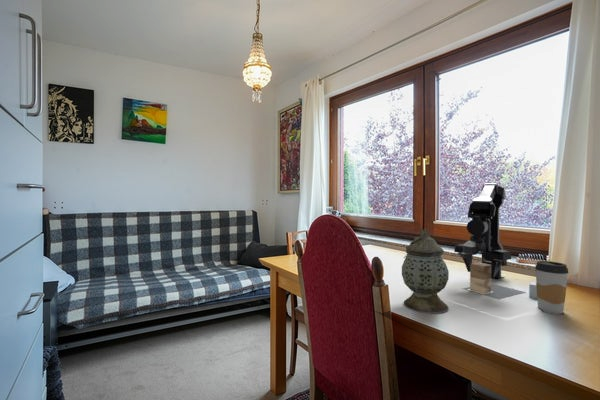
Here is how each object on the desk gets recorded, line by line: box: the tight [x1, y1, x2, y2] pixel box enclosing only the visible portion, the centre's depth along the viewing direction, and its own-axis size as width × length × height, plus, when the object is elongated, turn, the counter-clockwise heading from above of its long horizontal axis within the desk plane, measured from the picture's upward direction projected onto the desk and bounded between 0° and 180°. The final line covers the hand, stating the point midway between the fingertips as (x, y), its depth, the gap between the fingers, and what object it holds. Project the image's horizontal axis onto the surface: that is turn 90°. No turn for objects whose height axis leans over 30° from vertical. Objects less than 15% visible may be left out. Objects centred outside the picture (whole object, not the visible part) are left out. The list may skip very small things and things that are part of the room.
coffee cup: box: [534, 260, 569, 315], centre depth 99 cm, size 8×8×15 cm
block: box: [528, 281, 537, 299], centre depth 111 cm, size 5×5×5 cm
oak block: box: [469, 276, 492, 293], centre depth 118 cm, size 5×5×5 cm
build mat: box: [461, 283, 527, 300], centre depth 118 cm, size 18×14×1 cm
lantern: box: [401, 229, 450, 315], centre depth 101 cm, size 14×14×25 cm
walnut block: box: [469, 262, 492, 280], centre depth 118 cm, size 5×5×5 cm
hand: (480, 274), depth 118 cm, fingers open, 9 cm apart
